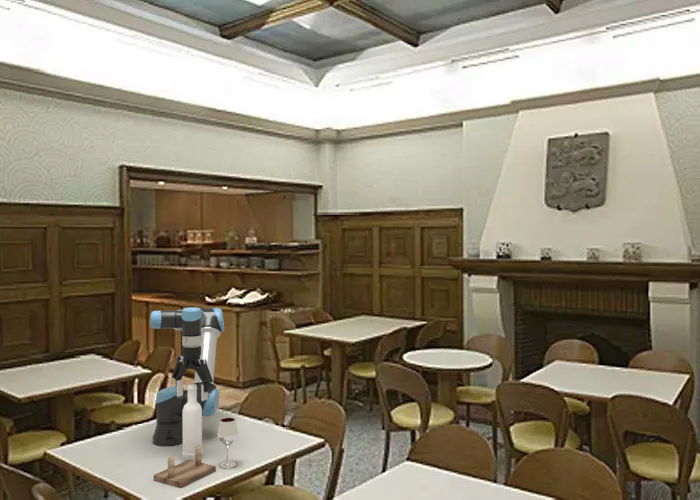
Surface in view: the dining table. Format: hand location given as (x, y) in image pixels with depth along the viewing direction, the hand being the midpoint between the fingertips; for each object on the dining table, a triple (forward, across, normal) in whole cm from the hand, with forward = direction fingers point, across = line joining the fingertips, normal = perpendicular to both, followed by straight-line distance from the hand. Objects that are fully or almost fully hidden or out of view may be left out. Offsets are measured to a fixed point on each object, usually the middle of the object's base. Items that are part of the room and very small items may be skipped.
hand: (192, 398), depth 242 cm
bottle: (+25, 0, 0) cm, 25 cm away
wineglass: (+25, +18, +1) cm, 31 cm away
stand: (+25, +11, -15) cm, 31 cm away
